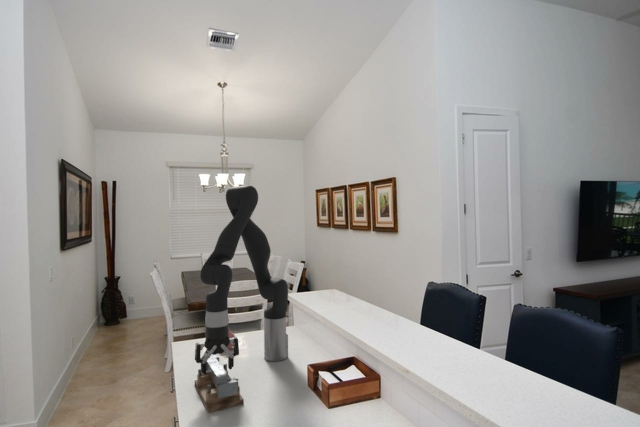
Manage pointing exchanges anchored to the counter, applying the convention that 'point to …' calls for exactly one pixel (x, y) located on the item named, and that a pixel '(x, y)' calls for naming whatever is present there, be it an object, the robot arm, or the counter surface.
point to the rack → (209, 393)
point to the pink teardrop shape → (229, 338)
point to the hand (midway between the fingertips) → (217, 371)
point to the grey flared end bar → (221, 378)
